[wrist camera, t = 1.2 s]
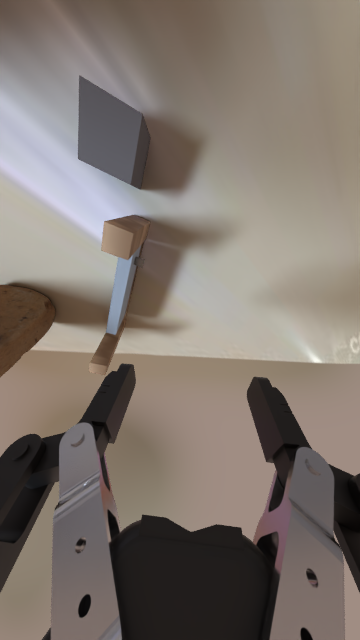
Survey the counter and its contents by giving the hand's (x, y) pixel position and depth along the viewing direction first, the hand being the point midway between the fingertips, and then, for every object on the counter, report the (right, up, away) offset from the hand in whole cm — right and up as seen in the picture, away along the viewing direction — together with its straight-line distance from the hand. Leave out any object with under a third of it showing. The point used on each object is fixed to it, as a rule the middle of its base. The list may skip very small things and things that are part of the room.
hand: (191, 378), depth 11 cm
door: (-9, +11, +17) cm, 22 cm away
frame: (-10, +11, +18) cm, 23 cm away
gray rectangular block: (-7, +24, +8) cm, 27 cm away
